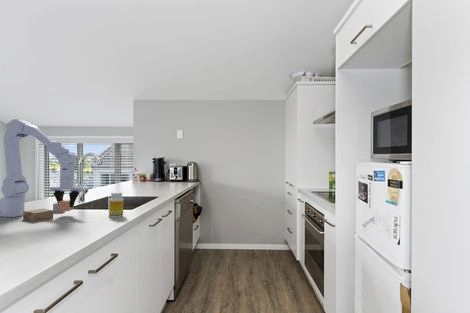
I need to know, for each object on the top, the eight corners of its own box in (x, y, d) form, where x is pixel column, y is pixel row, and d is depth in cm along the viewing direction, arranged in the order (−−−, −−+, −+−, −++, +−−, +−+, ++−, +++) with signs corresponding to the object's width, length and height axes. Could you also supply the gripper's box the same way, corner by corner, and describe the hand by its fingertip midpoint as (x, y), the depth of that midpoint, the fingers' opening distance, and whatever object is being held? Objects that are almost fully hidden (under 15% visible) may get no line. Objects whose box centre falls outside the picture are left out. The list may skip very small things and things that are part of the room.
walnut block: (22, 220, 123) (23, 211, 123) (42, 217, 130) (42, 208, 130) (33, 222, 119) (34, 213, 119) (53, 219, 126) (53, 210, 126)
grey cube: (52, 212, 139) (53, 203, 139) (55, 211, 143) (55, 202, 144) (63, 212, 141) (63, 203, 141) (65, 210, 145) (65, 202, 145)
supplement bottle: (107, 216, 134) (107, 192, 135) (120, 214, 138) (121, 191, 139) (110, 218, 130) (111, 193, 130) (125, 216, 134) (125, 193, 134)
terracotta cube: (58, 210, 130) (58, 201, 130) (63, 209, 134) (63, 199, 134) (68, 211, 130) (68, 201, 130) (73, 209, 135) (73, 199, 135)
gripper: (45, 178, 128) (44, 208, 128) (79, 178, 129) (78, 208, 129) (54, 177, 135) (53, 205, 135) (86, 177, 136) (85, 206, 136)
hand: (66, 207), depth 132 cm, fingers closed on terracotta cube, 4 cm apart
